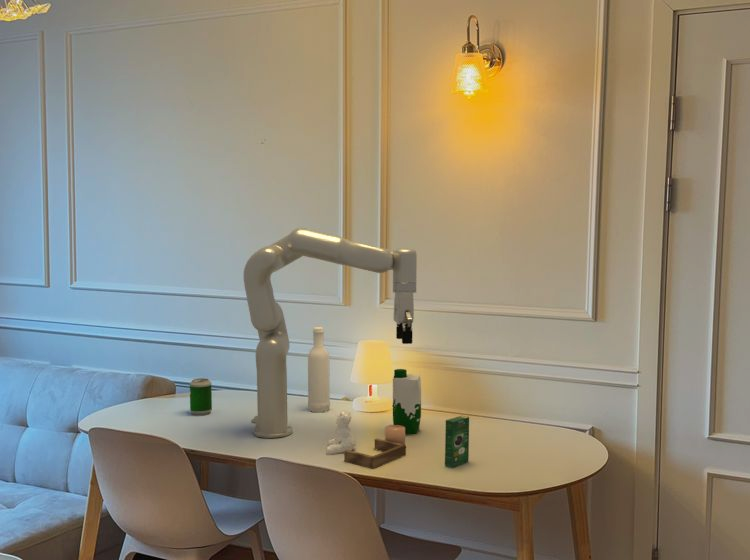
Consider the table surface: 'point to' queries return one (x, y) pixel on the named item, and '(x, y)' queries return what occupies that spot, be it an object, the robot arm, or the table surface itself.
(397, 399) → the milk carton
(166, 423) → the table surface
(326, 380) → the bottle
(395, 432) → the tan rounded cylinder
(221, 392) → the table surface
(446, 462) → the coffee box
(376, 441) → the display bay
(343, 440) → the white creature statuette
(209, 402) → the soda can
